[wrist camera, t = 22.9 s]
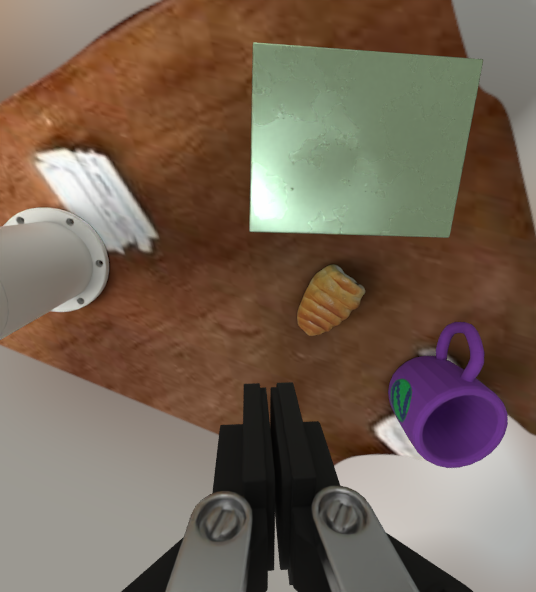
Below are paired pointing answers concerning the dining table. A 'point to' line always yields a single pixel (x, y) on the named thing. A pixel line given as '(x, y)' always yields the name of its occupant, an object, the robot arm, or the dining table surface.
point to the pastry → (328, 300)
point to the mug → (448, 404)
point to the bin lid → (357, 140)
